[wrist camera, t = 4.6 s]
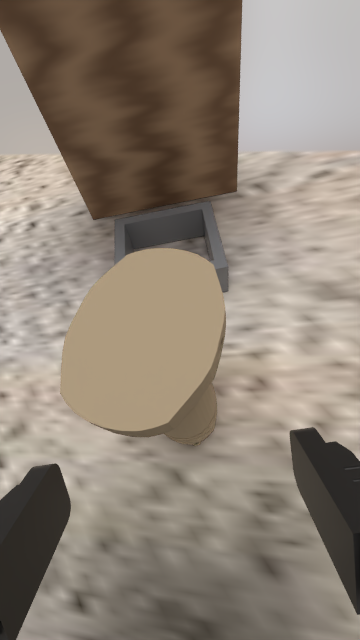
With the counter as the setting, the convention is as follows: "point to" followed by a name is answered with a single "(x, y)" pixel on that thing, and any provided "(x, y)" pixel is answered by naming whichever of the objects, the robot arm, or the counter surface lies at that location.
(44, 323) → the counter surface
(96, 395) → the tan headed rod
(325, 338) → the counter surface
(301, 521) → the counter surface
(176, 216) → the socket
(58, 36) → the wooden l-shaped bracket
